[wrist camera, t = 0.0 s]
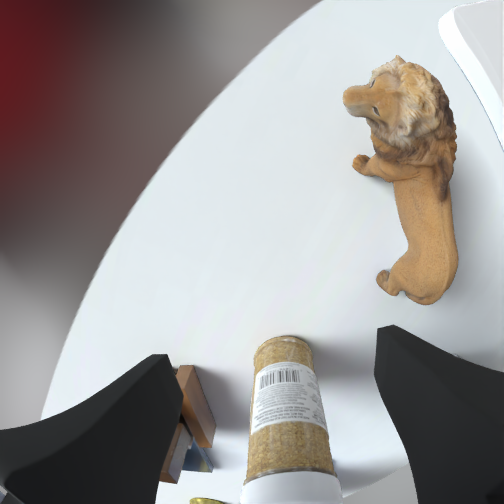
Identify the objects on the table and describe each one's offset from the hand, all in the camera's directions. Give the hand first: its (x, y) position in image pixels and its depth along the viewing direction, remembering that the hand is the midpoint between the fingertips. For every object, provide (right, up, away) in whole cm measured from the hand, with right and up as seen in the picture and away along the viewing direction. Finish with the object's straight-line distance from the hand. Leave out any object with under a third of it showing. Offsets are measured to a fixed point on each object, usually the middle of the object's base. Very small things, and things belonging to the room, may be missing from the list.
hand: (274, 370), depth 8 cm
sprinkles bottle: (+2, -4, +12) cm, 12 cm away
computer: (+29, +21, +4) cm, 36 cm away
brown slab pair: (-6, -9, +13) cm, 17 cm away
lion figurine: (+8, +8, +8) cm, 14 cm away
